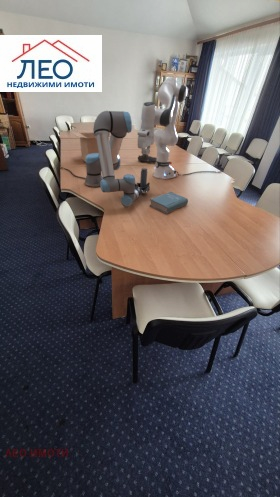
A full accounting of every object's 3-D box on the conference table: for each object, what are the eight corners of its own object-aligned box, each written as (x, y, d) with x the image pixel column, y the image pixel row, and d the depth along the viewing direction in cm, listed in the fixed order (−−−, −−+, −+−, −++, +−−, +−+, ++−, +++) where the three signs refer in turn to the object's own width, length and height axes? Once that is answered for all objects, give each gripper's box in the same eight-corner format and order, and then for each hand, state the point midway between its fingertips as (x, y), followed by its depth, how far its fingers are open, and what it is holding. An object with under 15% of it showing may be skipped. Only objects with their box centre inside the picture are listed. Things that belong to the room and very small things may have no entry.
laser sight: (156, 164, 241) (157, 154, 235) (136, 162, 244) (137, 152, 238) (158, 162, 249) (159, 152, 243) (138, 159, 252) (139, 150, 246)
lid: (149, 154, 153) (150, 151, 152) (141, 154, 153) (141, 150, 152) (149, 152, 158) (150, 149, 157) (141, 151, 158) (141, 148, 157)
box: (116, 165, 229) (116, 136, 213) (83, 168, 214) (80, 137, 198) (102, 154, 259) (101, 128, 243) (71, 156, 244) (68, 129, 228)
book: (169, 197, 170) (170, 191, 167) (186, 205, 161) (188, 198, 158) (149, 205, 157) (150, 199, 154) (167, 214, 148) (168, 207, 145)
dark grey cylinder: (138, 194, 172) (140, 169, 160) (140, 192, 176) (142, 167, 164) (144, 195, 171) (146, 170, 160) (146, 193, 175) (148, 168, 163)
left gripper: (122, 196, 160) (134, 186, 178) (145, 201, 156) (155, 190, 174) (122, 186, 156) (135, 176, 174) (146, 191, 151) (156, 180, 169)
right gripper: (148, 128, 156) (147, 149, 164) (136, 132, 141) (135, 155, 149) (157, 130, 154) (155, 151, 162) (145, 133, 139) (143, 156, 147)
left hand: (145, 183), depth 174 cm, fingers closed on dark grey cylinder, 5 cm apart
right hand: (145, 153), depth 156 cm, fingers closed on lid, 5 cm apart
